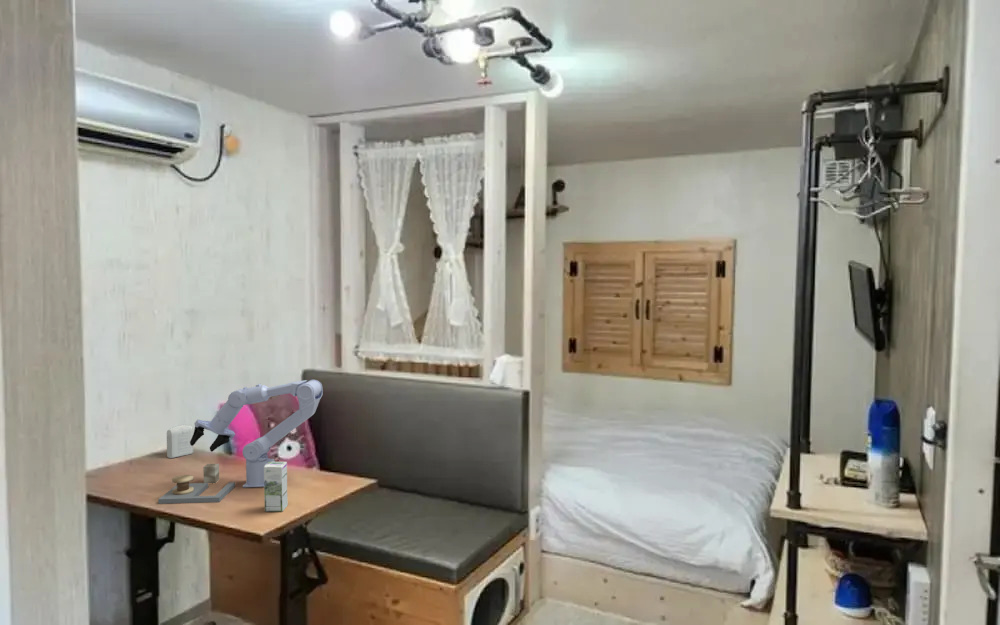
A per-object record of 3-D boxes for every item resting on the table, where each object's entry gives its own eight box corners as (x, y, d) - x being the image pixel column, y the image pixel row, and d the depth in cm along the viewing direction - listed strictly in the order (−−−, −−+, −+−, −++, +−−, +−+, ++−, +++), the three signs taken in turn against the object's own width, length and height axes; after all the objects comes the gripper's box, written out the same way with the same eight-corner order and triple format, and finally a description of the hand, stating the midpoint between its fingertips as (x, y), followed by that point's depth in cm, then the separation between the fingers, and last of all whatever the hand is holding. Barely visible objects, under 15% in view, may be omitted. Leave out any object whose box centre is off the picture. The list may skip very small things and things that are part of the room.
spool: (196, 488, 219) (196, 474, 219) (189, 494, 213) (188, 480, 213) (177, 488, 219) (176, 475, 219) (169, 495, 212) (168, 481, 212)
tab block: (219, 480, 233) (218, 463, 233) (215, 483, 229) (215, 466, 229) (207, 480, 233) (207, 464, 233) (203, 483, 229) (203, 467, 229)
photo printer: (189, 452, 271) (188, 422, 271) (195, 453, 269) (194, 424, 268) (165, 457, 263) (164, 427, 262) (171, 459, 260) (170, 428, 260)
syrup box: (288, 505, 207) (287, 460, 206) (282, 512, 201) (281, 466, 200) (270, 505, 207) (269, 460, 206) (263, 512, 201) (263, 466, 200)
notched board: (235, 486, 226) (235, 482, 226) (219, 502, 210) (219, 497, 210) (178, 487, 224) (178, 483, 224) (158, 503, 209) (158, 499, 208)
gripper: (239, 417, 236) (217, 445, 237) (203, 404, 226) (180, 434, 227) (243, 428, 231) (221, 457, 232) (207, 416, 221) (183, 446, 222)
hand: (201, 446), depth 229 cm, fingers open, 7 cm apart
